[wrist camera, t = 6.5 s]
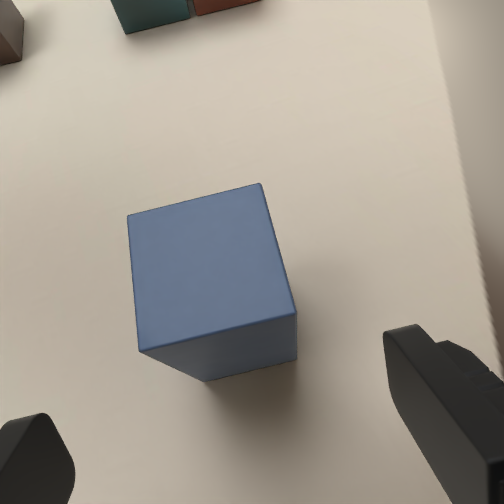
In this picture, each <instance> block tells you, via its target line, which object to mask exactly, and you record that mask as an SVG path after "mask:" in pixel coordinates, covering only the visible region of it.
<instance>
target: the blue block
mask: <svg viewBox="0 0 504 504" xmlns="http://www.w3.org/2000/svg"><path fill="white" fill-rule="evenodd" d="M127 225H128V236H129V247H130V258H131V270H132V281H133V292H134V303H135V315H136V326H137V337H138V348H139V352H140V353H143V354H145V355H147V356H149V357H151V358H153V359H155V360H158V361H160V362H162V363H164V364H166V365H168V366H170V367H173V368H175V369H177V370H179V371H181V372H183V373H185V374H187V375H190V376H192V377H194V378H196V379H198V380H200V381H202V382H207V381H211V380H215V379H219V378H223V377H227V376H231V375H235V374H240V373H244V372H248V371H252V370H256V369H260V368H264V367H268V366H272V365H277V364H281V363H285V362H289V361H293V360H296V359H297V310H296V307H295V303H294V300H293V296H292V292H291V289H290V285H289V282H288V278H287V274H286V271H285V267H284V264H283V260H282V256H281V253H280V249H279V246H278V242H277V238H276V235H275V231H274V227H273V224H272V220H271V217H270V213H269V209H268V206H267V202H266V199H265V195H264V191H263V188H262V185H261V184H260V183H257V184H253V185H249V186H245V187H241V188H237V189H233V190H228V191H224V192H220V193H216V194H212V195H208V196H204V197H200V198H196V199H192V200H188V201H184V202H180V203H176V204H172V205H168V206H164V207H160V208H156V209H152V210H147V211H143V212H139V213H135V214H131V215H128V216H127Z"/></svg>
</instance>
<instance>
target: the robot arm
mask: <svg viewBox="0 0 504 504" xmlns="http://www.w3.org/2000/svg"><path fill="white" fill-rule="evenodd" d="M383 344H384V352H385V360H386V368H387V375H388V383H389V388H390V392H391V396H392V399H393V402H394V404H395V406H396V409H397V411H398V413H399V414H400V416H401V418H402V420H403V421H404V423H405V425H406V426H407V428H408V430H409V431H410V433H411V435H412V436H413V438H414V440H415V441H416V443H417V445H418V447H419V448H420V450H421V452H422V453H423V455H424V457H425V458H426V460H427V462H428V463H429V465H430V467H431V468H432V470H433V472H434V473H435V475H436V477H437V479H438V480H439V482H440V484H441V485H442V487H443V489H444V490H445V492H446V494H447V495H448V497H449V499H450V500H451V502H452V504H504V383H503V381H502V380H501V379H500V378H499V377H497V376H496V375H495V374H494V373H493V372H492V371H491V372H490V371H489V369H488V367H487V366H486V365H485V364H484V363H483V362H482V361H481V360H480V359H478V358H477V357H476V356H475V355H474V354H473V353H472V352H471V351H469V350H467V349H465V348H463V347H461V346H459V345H457V344H455V343H452V342H450V341H448V340H446V341H442V342H438V343H435V342H434V341H433V340H432V338H431V337H430V336H429V335H428V334H427V333H426V332H425V331H424V330H423V329H422V328H421V327H420V326H419V325H417V324H414V325H409V326H405V327H401V328H397V329H393V330H389V331H385V332H384V333H383ZM74 483H75V466H74V462H73V459H72V457H71V455H70V453H69V451H68V450H67V448H66V446H65V444H64V442H63V440H62V438H61V436H60V434H59V433H58V431H57V429H56V427H55V425H54V423H53V421H52V419H51V418H50V417H49V415H47V414H45V413H39V414H35V415H31V416H27V417H23V418H19V419H14V420H10V421H8V422H7V423H5V424H4V426H3V427H2V428H1V430H0V504H67V503H68V501H69V498H70V496H71V493H72V491H73V488H74Z"/></svg>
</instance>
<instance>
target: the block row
mask: <svg viewBox="0 0 504 504" xmlns="http://www.w3.org/2000/svg"><path fill="white" fill-rule="evenodd" d="M255 1H259V0H193V3H194V7H195V11H196V15H197V16H199V15H203V14H207V13H211V12H215V11H219V10H223V9H227V8H231V7H235V6H239V5H243V4H247V3H251V2H255ZM111 3H112V5H113V7H114V9H115V12H116V14H117V16H118V19H119V21H120V23H121V25H122V28H123V30H124V32H125V34H128V33H132V32H136V31H140V30H144V29H148V28H152V27H156V26H160V25H164V24H168V23H172V22H176V21H180V20H184V19H188V18H190V14H189V10H188V6H187V2H186V0H111ZM23 24H24V18H23V17H22V15H21V14H20V12H19V11H18V9H17V8H16V6H15V5H14V3H13V2H12V0H0V65H4V64H8V63H12V62H16V61H20V60H21V57H22V40H23Z"/></svg>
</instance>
